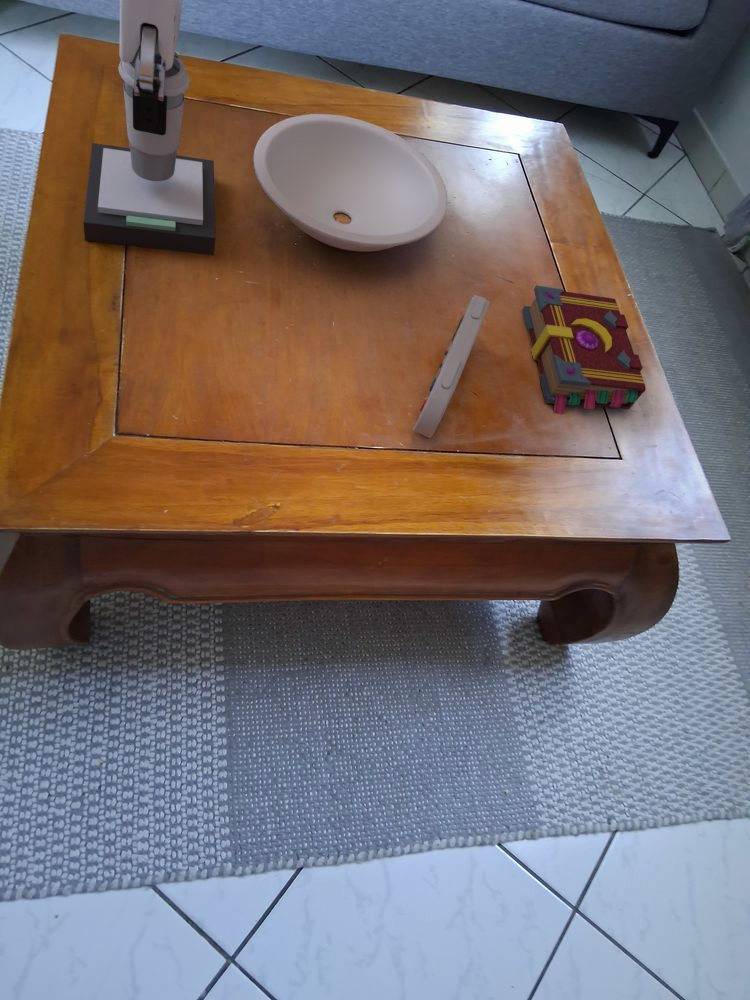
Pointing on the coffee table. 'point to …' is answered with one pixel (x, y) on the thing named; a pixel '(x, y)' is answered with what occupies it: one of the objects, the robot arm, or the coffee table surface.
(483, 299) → the game controller
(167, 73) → the cup
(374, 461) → the coffee table surface
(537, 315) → the decorative book
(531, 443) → the coffee table surface
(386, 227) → the white sink basin
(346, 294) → the coffee table surface
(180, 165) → the scale
